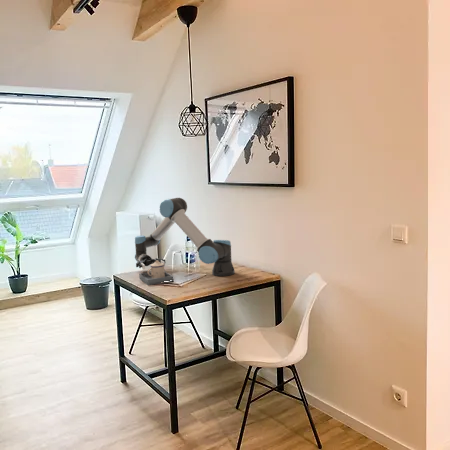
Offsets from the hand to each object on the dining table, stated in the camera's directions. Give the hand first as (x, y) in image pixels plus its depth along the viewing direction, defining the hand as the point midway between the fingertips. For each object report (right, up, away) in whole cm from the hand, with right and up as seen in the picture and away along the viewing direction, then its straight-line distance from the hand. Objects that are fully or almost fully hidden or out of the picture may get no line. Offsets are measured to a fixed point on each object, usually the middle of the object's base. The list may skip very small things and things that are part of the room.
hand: (154, 265), depth 311 cm
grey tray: (+1, -10, +1) cm, 10 cm away
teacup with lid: (+1, -9, +1) cm, 9 cm away
